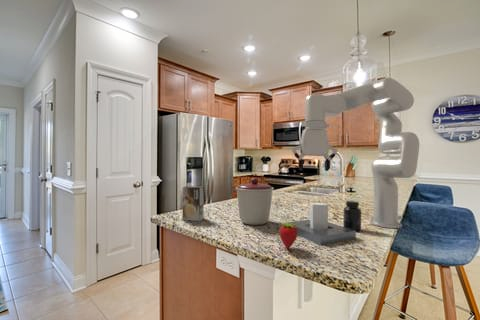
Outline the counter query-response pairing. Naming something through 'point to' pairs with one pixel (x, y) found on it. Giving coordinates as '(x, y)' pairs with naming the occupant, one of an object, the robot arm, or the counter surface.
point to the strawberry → (288, 234)
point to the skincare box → (319, 216)
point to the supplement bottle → (352, 216)
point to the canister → (254, 202)
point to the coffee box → (193, 203)
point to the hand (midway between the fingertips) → (313, 170)
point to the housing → (324, 233)
